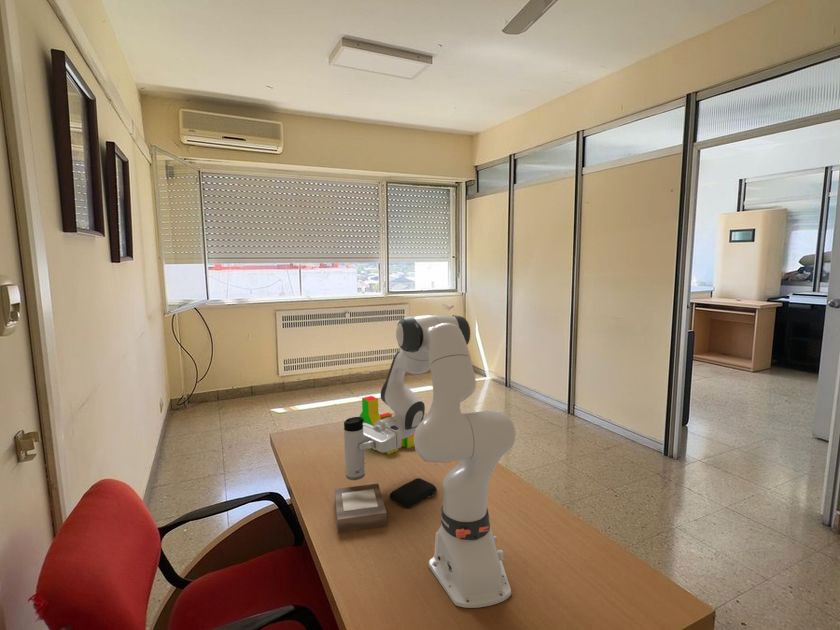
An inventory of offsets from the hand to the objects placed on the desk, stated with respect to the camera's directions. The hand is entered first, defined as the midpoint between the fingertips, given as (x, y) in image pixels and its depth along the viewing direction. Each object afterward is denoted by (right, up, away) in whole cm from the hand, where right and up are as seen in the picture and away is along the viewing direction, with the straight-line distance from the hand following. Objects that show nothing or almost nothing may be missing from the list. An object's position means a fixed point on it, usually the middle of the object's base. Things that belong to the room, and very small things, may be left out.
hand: (352, 443), depth 145 cm
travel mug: (+1, -12, +2) cm, 12 cm away
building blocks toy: (+8, -11, +43) cm, 45 cm away
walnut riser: (+4, -18, -10) cm, 21 cm away
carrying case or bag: (+21, -17, -2) cm, 27 cm away
